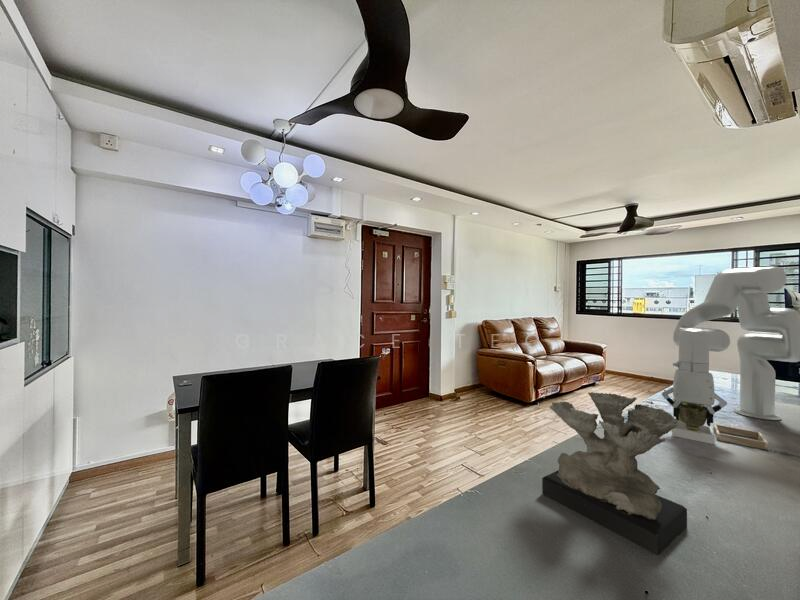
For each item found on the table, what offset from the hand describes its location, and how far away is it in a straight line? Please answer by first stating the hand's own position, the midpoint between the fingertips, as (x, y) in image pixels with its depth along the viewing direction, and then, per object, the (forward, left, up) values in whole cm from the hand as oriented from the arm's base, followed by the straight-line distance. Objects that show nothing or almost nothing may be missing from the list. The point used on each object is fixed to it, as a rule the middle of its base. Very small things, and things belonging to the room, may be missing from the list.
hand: (692, 421), depth 110 cm
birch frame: (-6, +11, -4) cm, 14 cm away
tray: (0, 0, -4) cm, 4 cm away
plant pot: (-9, -1, -5) cm, 11 cm away
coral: (+61, -16, -5) cm, 63 cm away
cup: (0, 0, -3) cm, 3 cm away
